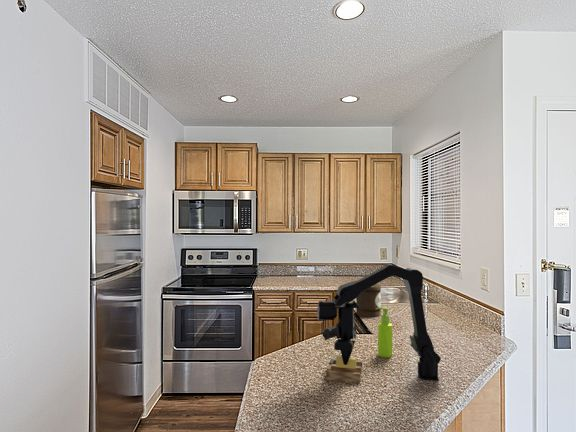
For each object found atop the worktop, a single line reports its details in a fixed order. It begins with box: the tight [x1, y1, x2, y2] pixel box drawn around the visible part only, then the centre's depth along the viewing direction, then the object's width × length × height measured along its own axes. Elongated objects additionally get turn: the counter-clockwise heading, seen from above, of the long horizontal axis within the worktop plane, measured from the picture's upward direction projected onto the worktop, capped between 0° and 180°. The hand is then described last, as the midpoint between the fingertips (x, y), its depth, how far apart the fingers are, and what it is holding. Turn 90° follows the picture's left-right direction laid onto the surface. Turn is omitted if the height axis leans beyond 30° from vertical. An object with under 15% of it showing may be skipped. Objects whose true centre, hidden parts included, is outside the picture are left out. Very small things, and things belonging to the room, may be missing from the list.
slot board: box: [325, 358, 363, 384], centre depth 154 cm, size 12×14×3 cm
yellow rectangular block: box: [335, 355, 357, 369], centre depth 151 cm, size 7×3×3 cm, turn 77°
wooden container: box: [355, 283, 382, 318], centre depth 256 cm, size 15×15×22 cm
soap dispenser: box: [376, 306, 393, 358], centre depth 177 cm, size 6×7×20 cm
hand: (345, 363), depth 151 cm, fingers closed on yellow rectangular block, 3 cm apart
